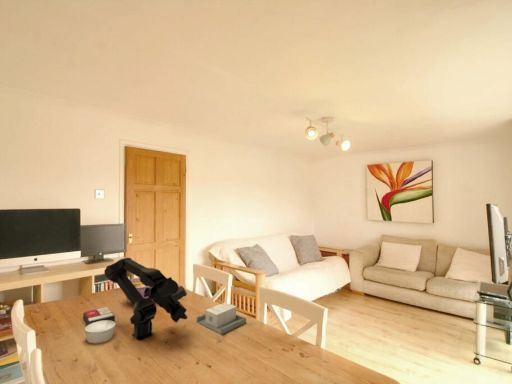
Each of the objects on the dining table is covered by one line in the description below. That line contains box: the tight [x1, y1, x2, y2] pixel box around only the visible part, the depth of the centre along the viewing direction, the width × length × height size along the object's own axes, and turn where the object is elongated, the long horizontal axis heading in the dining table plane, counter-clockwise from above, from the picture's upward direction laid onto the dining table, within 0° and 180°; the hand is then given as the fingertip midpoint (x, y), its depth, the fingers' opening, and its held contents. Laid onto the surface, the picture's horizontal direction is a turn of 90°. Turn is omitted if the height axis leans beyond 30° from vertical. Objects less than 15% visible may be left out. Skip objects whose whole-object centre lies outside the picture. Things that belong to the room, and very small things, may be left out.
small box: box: [205, 301, 237, 328], centre depth 134 cm, size 8×6×13 cm
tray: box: [196, 313, 247, 336], centre depth 134 cm, size 15×18×2 cm
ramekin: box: [84, 320, 116, 344], centre depth 118 cm, size 11×11×5 cm
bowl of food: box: [124, 277, 150, 303], centre depth 158 cm, size 20×20×12 cm
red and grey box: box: [82, 306, 116, 327], centre depth 134 cm, size 11×4×15 cm
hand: (186, 317), depth 123 cm, fingers closed
